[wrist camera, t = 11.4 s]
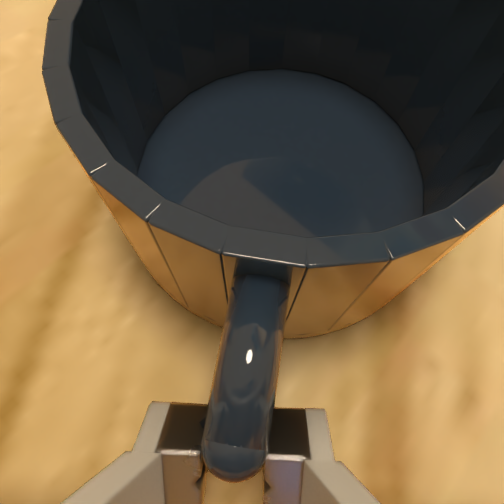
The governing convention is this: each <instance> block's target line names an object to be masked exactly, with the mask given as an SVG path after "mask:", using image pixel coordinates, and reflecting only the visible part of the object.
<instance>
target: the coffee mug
mask: <svg viewBox="0 0 504 504" xmlns="http://www.w3.org/2000/svg"><path fill="white" fill-rule="evenodd" d="M42 70H43V71H42V75H43V79H44V83H45V87H46V91H47V95H48V100H49V104H50V108H51V112H52V116H53V120H54V123H55V125H56V127H57V129H58V131H59V132H60V134H61V136H62V137H63V139H64V140H65V142H66V143H67V145H68V147H69V148H70V150H71V151H72V153H73V154H74V156H75V158H76V159H77V161H78V162H79V164H80V165H81V167H82V169H83V170H84V172H85V173H86V175H87V176H88V178H89V180H90V181H91V183H92V184H93V186H94V187H95V189H96V190H97V192H98V194H99V195H100V197H101V198H102V200H103V201H104V203H105V205H106V206H107V208H108V209H109V211H110V212H111V214H112V216H113V217H114V219H115V220H116V222H117V223H118V225H119V227H120V228H121V230H122V231H123V233H124V234H125V236H126V238H127V239H128V241H129V242H130V244H131V245H132V247H133V248H134V250H135V251H136V253H137V254H138V256H139V258H140V259H141V261H142V262H143V264H144V265H145V267H146V268H147V270H148V271H149V273H150V274H151V276H152V277H153V278H154V279H155V281H156V282H157V283H158V284H159V285H160V286H161V287H162V288H163V289H164V290H165V291H166V292H167V293H168V294H169V295H170V296H171V297H172V298H173V299H174V300H175V301H177V302H178V303H179V304H181V305H182V306H184V307H185V308H186V309H188V310H189V311H190V312H192V313H194V314H195V315H197V316H199V317H201V318H203V319H205V320H206V321H208V322H210V323H212V324H215V325H218V326H220V327H223V330H222V335H221V340H220V345H219V351H218V356H217V361H216V366H215V371H214V377H213V382H212V387H211V392H210V397H209V402H208V408H207V413H206V418H205V423H204V428H203V434H202V440H201V453H202V457H203V461H204V463H205V465H206V467H207V468H208V470H209V471H210V472H211V473H212V474H213V475H214V476H215V477H216V478H218V479H220V480H222V481H225V482H229V483H239V482H243V481H246V480H249V479H250V478H252V477H253V476H255V475H256V474H257V473H258V472H259V471H260V469H261V468H262V466H263V465H264V463H265V460H266V458H267V454H268V448H269V441H270V434H271V426H272V419H273V412H274V404H275V397H276V389H277V382H278V375H279V367H280V360H281V353H282V345H283V339H292V338H306V337H312V336H318V335H324V334H327V333H330V332H333V331H337V330H340V329H343V328H346V327H348V326H350V325H352V324H355V323H357V322H359V321H361V320H363V319H365V318H367V317H368V316H370V315H371V314H373V313H375V312H376V311H377V310H379V309H380V308H382V307H383V306H384V305H386V304H387V303H388V302H389V301H390V300H392V299H393V298H394V297H396V296H397V295H398V294H400V293H401V292H402V291H404V290H405V289H406V288H407V287H408V286H410V285H411V284H412V283H413V282H414V281H415V280H417V279H418V278H419V277H420V276H421V275H423V274H424V273H425V272H426V271H427V270H429V269H430V268H431V267H432V266H433V265H435V264H436V263H437V262H438V261H439V260H440V259H442V258H443V257H444V256H445V255H446V254H448V253H449V252H450V251H451V250H452V249H454V248H455V247H456V246H457V245H458V244H459V243H461V242H462V241H463V240H464V239H465V238H467V237H468V236H469V235H470V234H471V233H473V232H474V231H475V230H476V229H477V228H478V227H480V226H481V225H482V224H483V223H484V222H486V221H487V220H488V219H489V218H490V217H492V216H493V215H494V214H495V213H496V212H497V211H499V210H500V209H501V208H502V207H503V206H504V0H57V1H56V3H55V5H54V7H53V9H52V11H51V13H50V15H49V17H48V23H47V31H46V40H45V48H44V56H43V64H42Z"/></svg>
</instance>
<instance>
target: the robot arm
mask: <svg viewBox="0 0 504 504" xmlns="http://www.w3.org/2000/svg"><path fill="white" fill-rule="evenodd" d="M207 408H208V404H193V403H178V402H172V403H171V402H158V401H152V402H151V404H150V405H149V407H148V409H147V412H146V414H145V417H144V420H143V422H142V425H141V428H140V430H139V433H138V436H137V438H136V441H135V443H134V446H133V449H132V451H131V452H128V451H125V452H124V453H123V454H122V455H120V456H119V457H118V458H117V459H115V460H114V461H113V462H112V463H110V464H109V465H108V466H107V467H105V468H104V469H103V470H101V471H100V472H99V473H98V474H96V475H95V476H94V477H93V478H91V479H90V480H89V481H88V482H86V483H85V484H84V485H83V486H81V487H80V488H79V489H78V490H76V491H75V492H74V493H73V494H71V495H70V496H69V497H68V498H66V499H65V500H64V501H63V502H61V503H60V504H203V501H204V495H205V489H206V473H207V472H208V468H207V467H206V465H205V463H204V461H203V457H202V453H201V440H202V434H203V428H204V423H205V418H206V413H207ZM263 473H264V479H263V504H381V503H380V502H379V501H378V500H377V499H376V498H375V497H374V496H373V495H372V494H371V493H370V492H369V491H368V489H367V488H366V487H365V486H364V485H363V484H362V483H361V482H360V481H359V480H358V479H357V478H356V477H355V476H354V475H353V474H352V472H351V471H350V470H349V469H348V468H347V467H346V466H345V465H344V464H343V463H342V462H341V461H335V458H334V452H333V447H332V441H331V436H330V430H329V425H328V420H327V414H326V411H325V409H320V408H305V409H304V408H279V407H274V412H273V419H272V426H271V434H270V441H269V448H268V454H267V458H266V460H265V463H264V466H263Z"/></svg>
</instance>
